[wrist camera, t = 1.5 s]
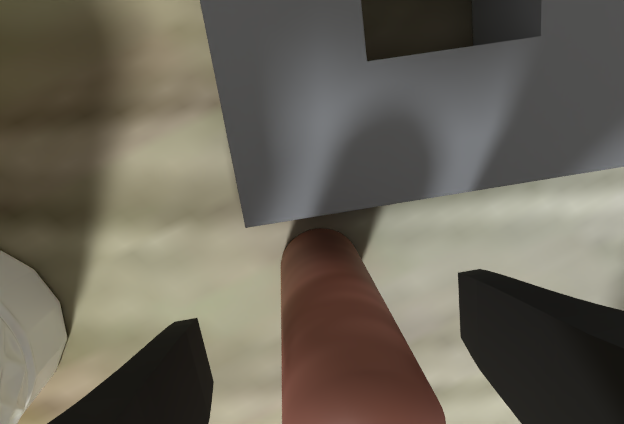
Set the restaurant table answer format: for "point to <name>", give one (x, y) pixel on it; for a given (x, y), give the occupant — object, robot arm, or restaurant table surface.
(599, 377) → the robot arm
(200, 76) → the restaurant table surface
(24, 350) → the white cup
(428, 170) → the block
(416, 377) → the pin
